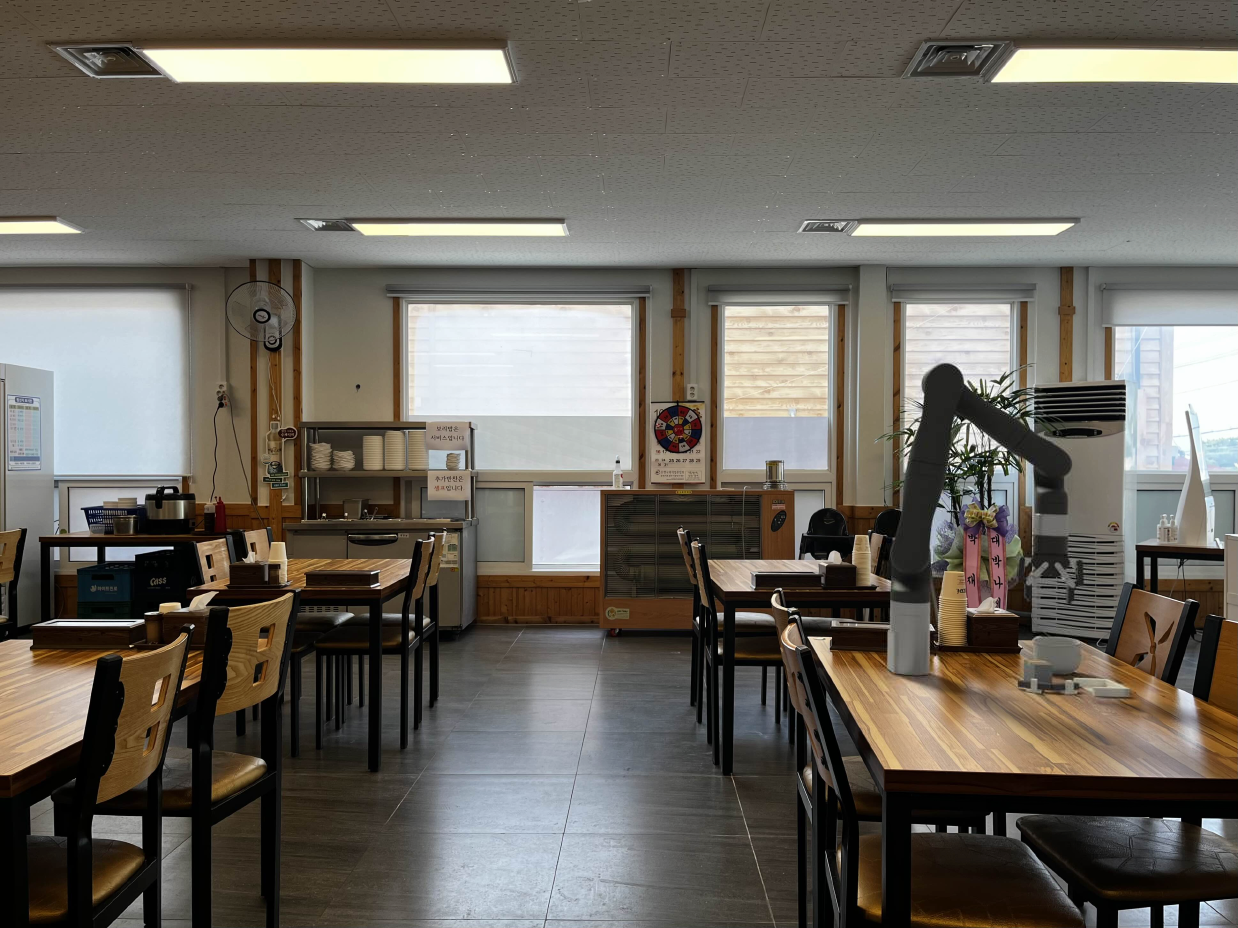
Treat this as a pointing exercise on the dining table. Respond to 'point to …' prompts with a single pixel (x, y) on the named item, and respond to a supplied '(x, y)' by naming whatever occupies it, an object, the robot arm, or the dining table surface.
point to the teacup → (1058, 653)
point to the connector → (1037, 670)
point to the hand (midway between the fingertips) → (1048, 602)
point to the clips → (1068, 690)
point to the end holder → (1103, 687)
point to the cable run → (1046, 685)
